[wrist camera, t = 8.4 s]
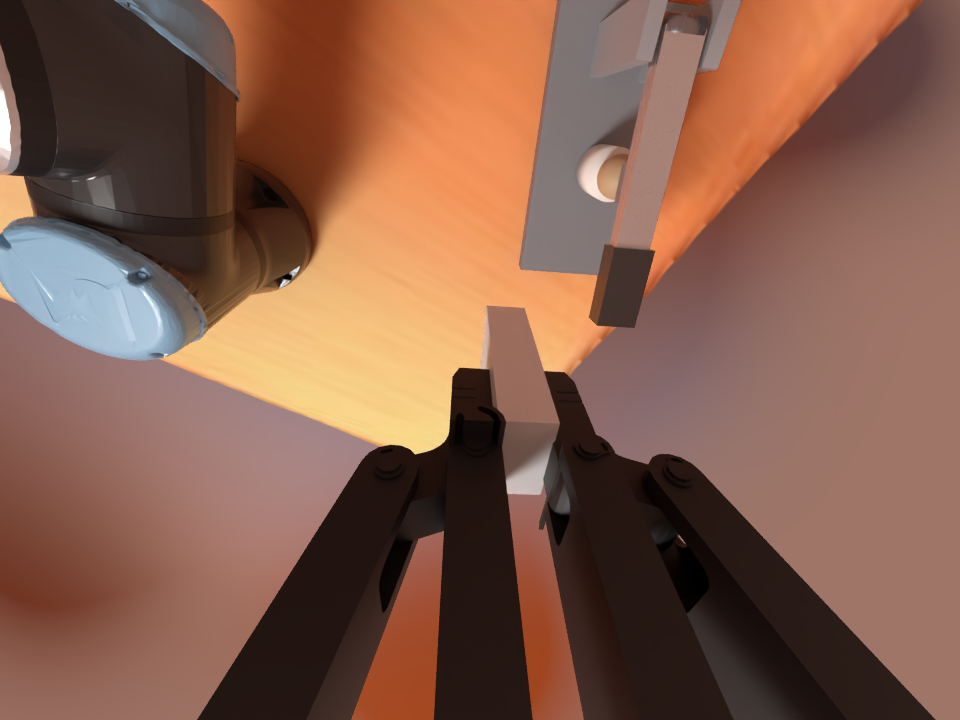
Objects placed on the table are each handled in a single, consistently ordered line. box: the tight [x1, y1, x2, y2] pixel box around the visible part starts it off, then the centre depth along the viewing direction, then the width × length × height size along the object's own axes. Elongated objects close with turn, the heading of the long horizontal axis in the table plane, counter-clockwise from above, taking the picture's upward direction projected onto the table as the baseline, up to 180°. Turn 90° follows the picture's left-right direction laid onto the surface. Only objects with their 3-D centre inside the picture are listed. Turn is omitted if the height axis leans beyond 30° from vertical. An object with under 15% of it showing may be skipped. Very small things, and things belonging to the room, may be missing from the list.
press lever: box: [589, 11, 708, 328], centre depth 31 cm, size 4×23×3 cm, turn 175°
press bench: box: [519, 0, 741, 275], centre depth 36 cm, size 14×26×14 cm, turn 175°
